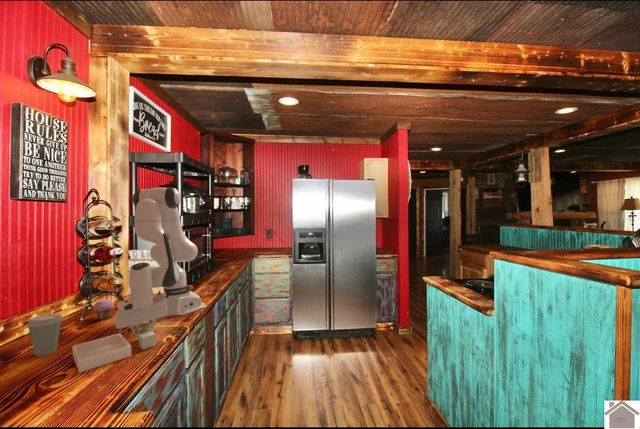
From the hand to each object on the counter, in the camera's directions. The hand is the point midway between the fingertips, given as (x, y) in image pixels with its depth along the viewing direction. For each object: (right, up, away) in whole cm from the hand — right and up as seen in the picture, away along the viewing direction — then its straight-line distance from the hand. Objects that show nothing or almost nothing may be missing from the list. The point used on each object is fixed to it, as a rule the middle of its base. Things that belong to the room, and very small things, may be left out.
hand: (143, 331), depth 131 cm
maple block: (0, -2, 0) cm, 2 cm away
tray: (-8, -4, -14) cm, 17 cm away
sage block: (+5, -4, -6) cm, 9 cm away
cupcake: (-38, -4, +28) cm, 47 cm away
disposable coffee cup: (-33, -5, -10) cm, 35 cm away
